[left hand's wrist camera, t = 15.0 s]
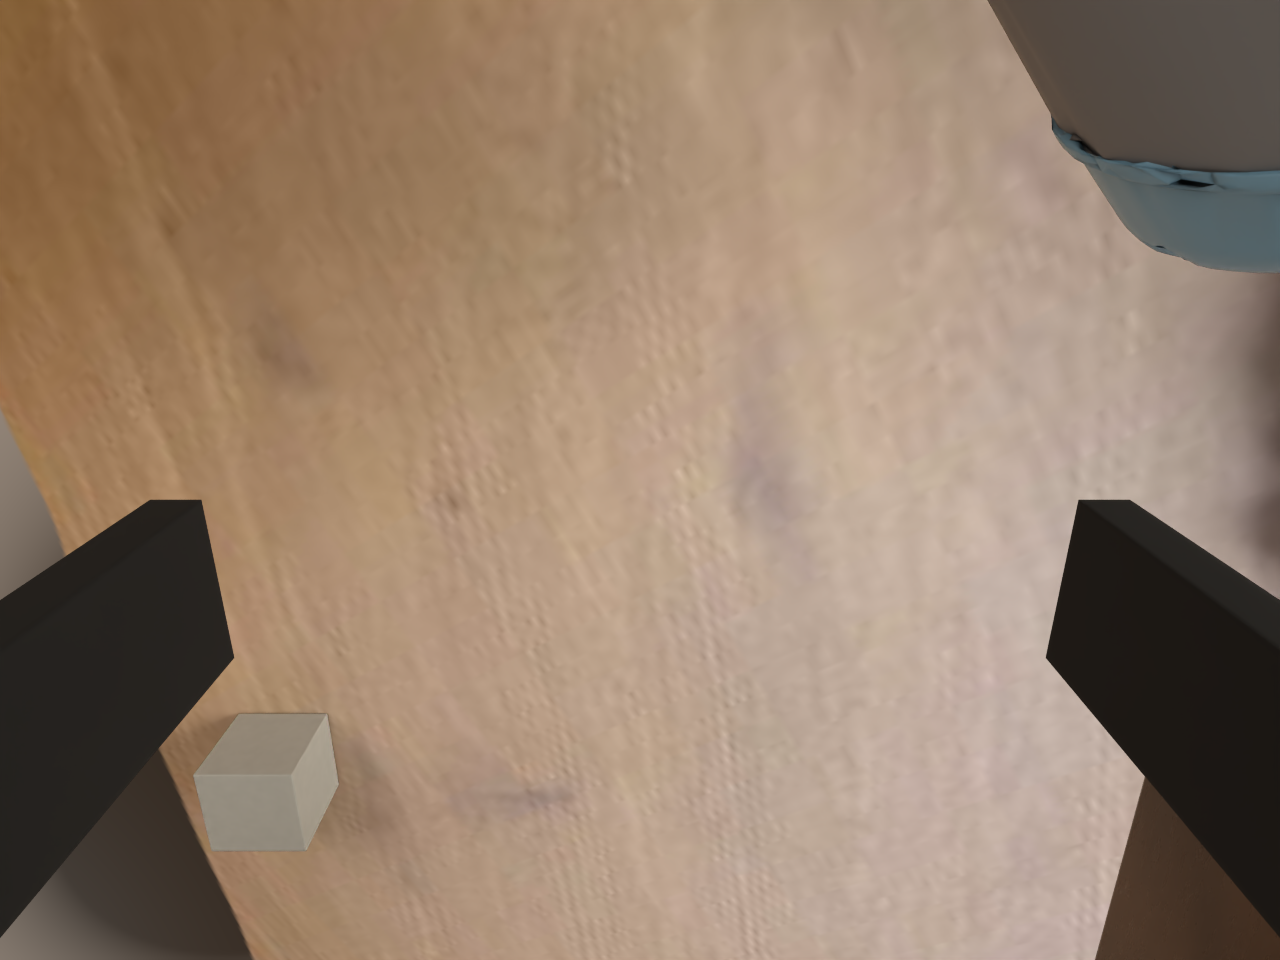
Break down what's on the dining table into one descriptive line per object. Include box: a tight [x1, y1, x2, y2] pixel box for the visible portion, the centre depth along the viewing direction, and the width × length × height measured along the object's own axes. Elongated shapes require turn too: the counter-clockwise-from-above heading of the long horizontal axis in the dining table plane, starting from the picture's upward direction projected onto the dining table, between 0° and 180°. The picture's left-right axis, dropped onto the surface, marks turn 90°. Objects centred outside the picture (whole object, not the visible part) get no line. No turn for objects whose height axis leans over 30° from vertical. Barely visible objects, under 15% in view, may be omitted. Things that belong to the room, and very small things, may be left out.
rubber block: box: [193, 714, 339, 851], centre depth 44 cm, size 5×5×5 cm
